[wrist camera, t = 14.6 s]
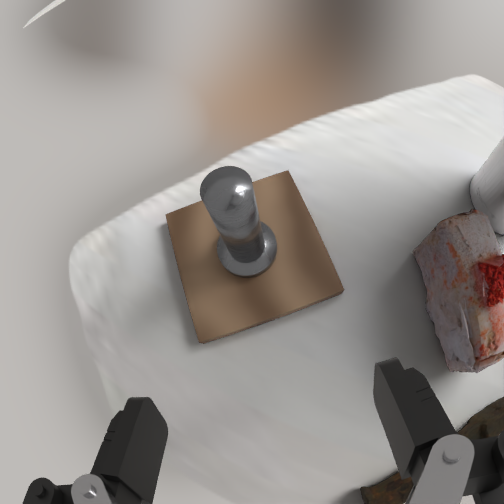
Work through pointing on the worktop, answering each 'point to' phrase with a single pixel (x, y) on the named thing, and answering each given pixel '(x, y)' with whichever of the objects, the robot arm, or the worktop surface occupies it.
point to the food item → (465, 290)
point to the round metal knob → (238, 222)
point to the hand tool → (479, 427)
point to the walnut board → (260, 287)
